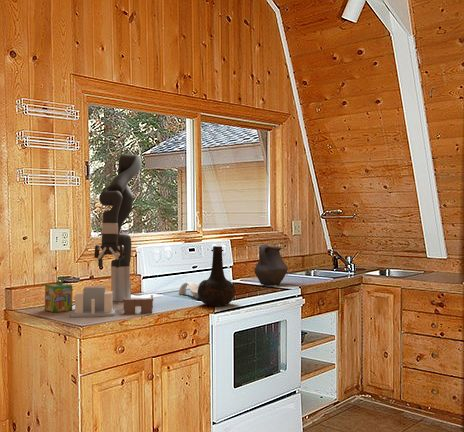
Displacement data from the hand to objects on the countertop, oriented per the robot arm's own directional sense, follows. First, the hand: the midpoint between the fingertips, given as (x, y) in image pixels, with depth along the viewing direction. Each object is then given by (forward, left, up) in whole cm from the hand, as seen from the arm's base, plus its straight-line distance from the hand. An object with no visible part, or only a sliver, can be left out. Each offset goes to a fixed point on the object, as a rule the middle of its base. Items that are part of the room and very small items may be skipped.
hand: (109, 267), depth 265 cm
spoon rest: (-44, +21, -19) cm, 53 cm away
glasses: (+5, +20, -18) cm, 28 cm away
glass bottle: (-24, +44, -18) cm, 54 cm away
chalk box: (+20, -13, -18) cm, 30 cm away
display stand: (+20, +7, -18) cm, 28 cm away
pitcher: (-105, +39, -18) cm, 114 cm away
